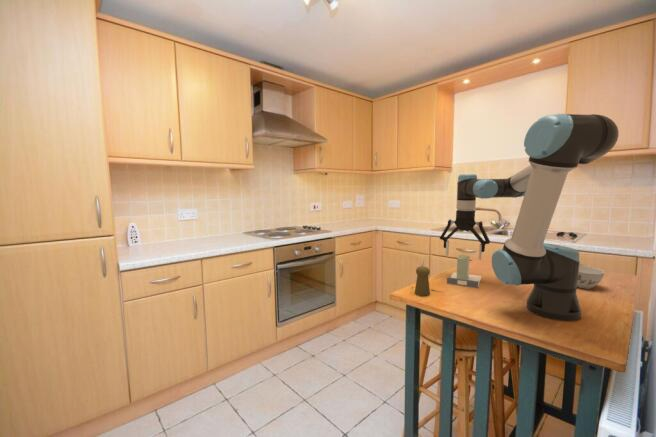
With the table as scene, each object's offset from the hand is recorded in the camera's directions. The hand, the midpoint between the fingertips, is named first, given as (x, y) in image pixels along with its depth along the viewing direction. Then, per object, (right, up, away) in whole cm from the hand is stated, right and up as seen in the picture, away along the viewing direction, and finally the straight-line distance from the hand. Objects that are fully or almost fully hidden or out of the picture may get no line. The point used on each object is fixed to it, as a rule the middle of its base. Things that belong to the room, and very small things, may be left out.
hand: (463, 257), depth 136 cm
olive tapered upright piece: (-22, -13, -13) cm, 29 cm away
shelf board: (0, -11, 0) cm, 11 cm away
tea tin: (0, -10, +1) cm, 10 cm away
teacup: (+48, -12, -7) cm, 50 cm away
